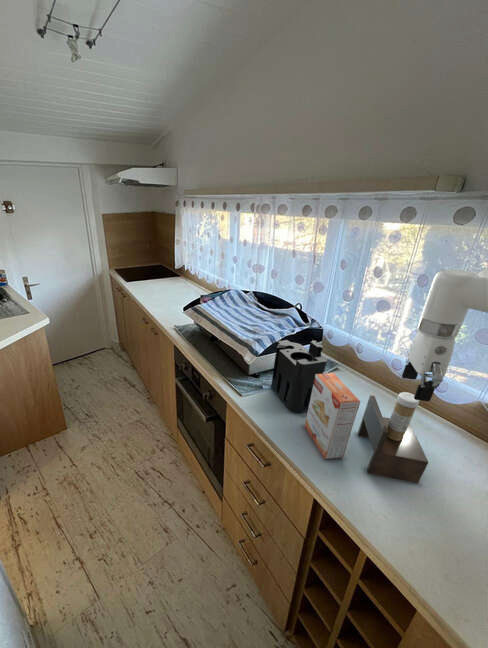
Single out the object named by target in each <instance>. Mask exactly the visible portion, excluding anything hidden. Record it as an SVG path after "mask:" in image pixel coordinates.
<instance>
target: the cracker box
mask: <svg viewBox="0 0 488 648" xmlns="http://www.w3.org/2000/svg"><path fill="white" fill-rule="evenodd" d="M360 405H361V400H360V399H359V398H358V397H357V395H355V394H354V393H353V391H352V390H351V389H349V388H348V386H346V384H345V383H344V382H343V381H342V380H341V379H340V378H339V377H338V376H337V375H336V374H335V372H326V373H325V372H323V374H316V375H315V380H314V384H313V389H312V394H311V399H310V403H309V408H308V411H307V413H306V418H305V423H304V428H305V429H306V431H307V432H308V434H309V436H310V438H311V439H312V441H313V442H314V443H315V447H316V448H317V449H318V451H319V452H320V454H321V455H322V457H323V459H324V460H330V459H341V458H342V459H343V458H344V456H345V452H346V449H347V445H348V443H349V439H350V437H351V433H352V430H353V426H354V424H355V420H356V418H357V414H358V411H359V407H360Z"/></svg>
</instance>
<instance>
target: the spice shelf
mask: <svg viewBox="0 0 488 648" xmlns="http://www.w3.org/2000/svg"><path fill="white" fill-rule="evenodd" d="M362 415H363V416H362V419H361V421H360V425H359V427H358V431H357V436H358V437H360V438H367V439H369V442H370V445H371V449H372V455H371V456H370V460H369V462H368V465H367V468H366V473H367V474H370V475H375V476H380V477H384V478H390V479H392V480H393V479H394V480H399V481H403V482H409V483H411V484H412V483H413V484H419V482H420V481H421V479H422V477H423V475H424V473H425V471H426V469H427V467H428V465H429V460H428V458H427V456H426V454H425V451H424V449H423V448H422V445H421V443H420V441H419V440H418V437H417V435H416V433H415V431H414V429H413V427H412V425H411V423H410V424H409V426H408V428H407V430H406V432H405V434H404V438H403V439H402V440H400V441H396V440H392V439H390V438H389V437H387V435H388V430H387V426H388V422H389V419H390V417H386V416H383V414H382V412H381V410H380V407H379V404H378V401H377V399H376V396H375V395H369V397H368V401H367V404H366V407H365V409H364V412H363V414H362Z"/></svg>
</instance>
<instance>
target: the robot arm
mask: <svg viewBox="0 0 488 648" xmlns="http://www.w3.org/2000/svg"><path fill="white" fill-rule="evenodd" d="M430 285H431V286H430V288H429V291H428V294H427V297H426V299H425V303H424V305H423V306H424V307H423V309H422V311H421V314H420V317H419V320H418V323H417V326H416V333H415V336H414V338H413V341H412V343H411V344H410V346H409V347H410V348H409V351H408V354H407V355H408V358H407V359H406V360H405V363H406V364H405V366H404V368H403V370H402V374H401V378H402V379H406V380H417V378H418V376H420V384H418V385H417V388H416V390H415V393H414V399H415V400H419V401H421V402H430V401H431V399H432V397H433V395H434V392H435V390H436V389H437V388H438V387H439V386H440V384H441V383H443V381H444V377H445V376H446V373H447V370H448V368H449V365H450V363H451V359H452V356H453V352H454V349H455V343H456V338H457V337H458V335H459V333H460V330H461V328H462V325H463V324H464V321H465V319H466V317H467V314H468V311H469V310H473V311H478V312H483V313H486V314H488V267H487V268H485V269H483V270H481V271H479V272H478V273H477V272H474V271H470V270H466V269H465V270H464V269H457V268H455V269H454V268H450V269H449V268H447V269H443V270H439V271H438V272H437V273H436V274H435V275H434V277H433V280H432V282H431V284H430ZM427 378H431V380H427Z"/></svg>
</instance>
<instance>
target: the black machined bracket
mask: <svg viewBox="0 0 488 648" xmlns="http://www.w3.org/2000/svg"><path fill="white" fill-rule="evenodd" d="M323 349H324V346H323V345H322V344H318V341H317V340H313V339H312V341H310V342H309V347H308V349H307V348H306V347H305V346H304V345H302V344H300V343H297V342H292V341H289V340H288V339H285V340H277V343H276V349H275V357H274V364H273V370H272V378H271V385H270V388H271V390H272V391H273V393H274V394H275V395H276V396H277V397H278V399H279V400H280V402H282V403H283V405H284V406H285V407H286V409H288V410H289V411H291V412H292V413H304V412H308V408H309V403H310V399H311V394H312V389H313V384H314V380H315V375H316V374H324V373H325V370H326V366H327V363H328V361H329V359H327V358H326V357H325V356H322V352H323Z"/></svg>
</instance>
